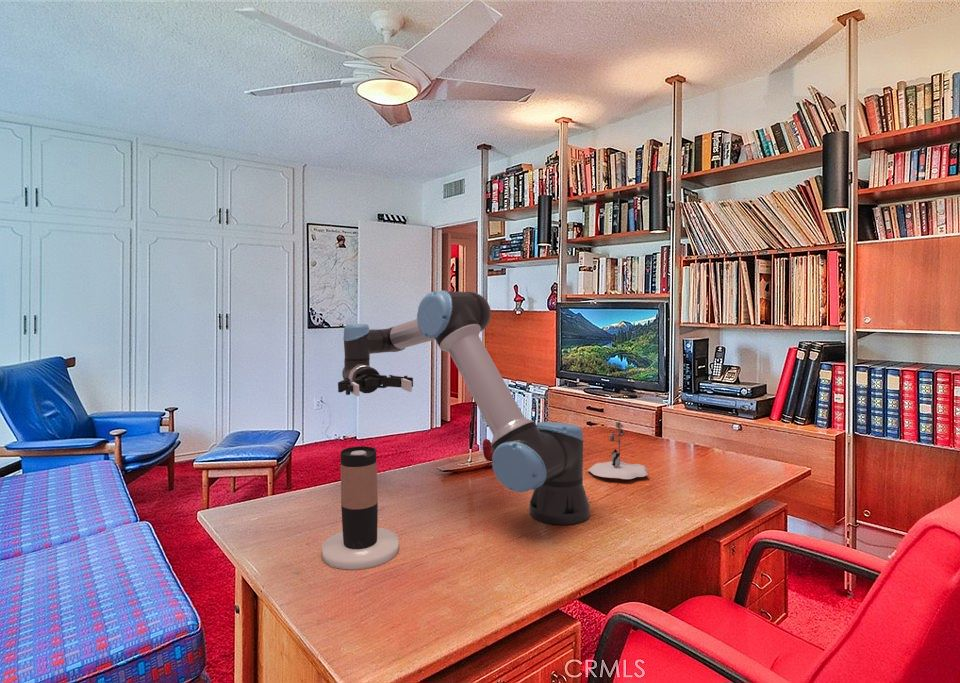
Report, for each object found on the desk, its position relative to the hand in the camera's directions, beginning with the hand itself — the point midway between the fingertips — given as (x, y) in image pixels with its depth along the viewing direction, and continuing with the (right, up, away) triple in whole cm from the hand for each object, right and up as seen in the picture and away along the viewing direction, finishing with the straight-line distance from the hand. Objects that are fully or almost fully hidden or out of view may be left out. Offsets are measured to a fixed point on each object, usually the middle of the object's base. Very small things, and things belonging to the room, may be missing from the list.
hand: (384, 388), depth 134 cm
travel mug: (-2, -32, -20) cm, 37 cm away
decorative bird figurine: (+28, -29, +43) cm, 60 cm away
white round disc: (-1, -33, -20) cm, 39 cm away
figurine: (+68, -30, +32) cm, 81 cm away
